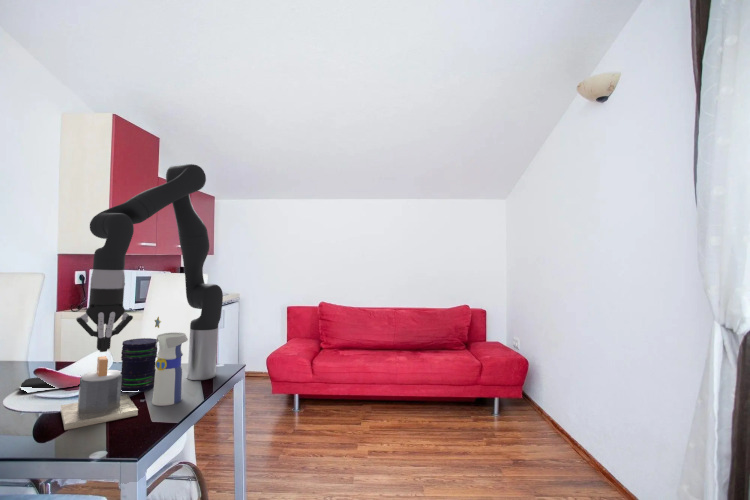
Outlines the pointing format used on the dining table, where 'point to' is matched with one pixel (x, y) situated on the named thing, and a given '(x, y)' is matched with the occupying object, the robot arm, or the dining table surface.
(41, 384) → the carrying case or bag
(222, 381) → the dining table surface
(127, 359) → the storage jar
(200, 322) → the robot arm
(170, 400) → the white plastic tall bottle
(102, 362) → the white lid with handle
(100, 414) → the grey container on board
